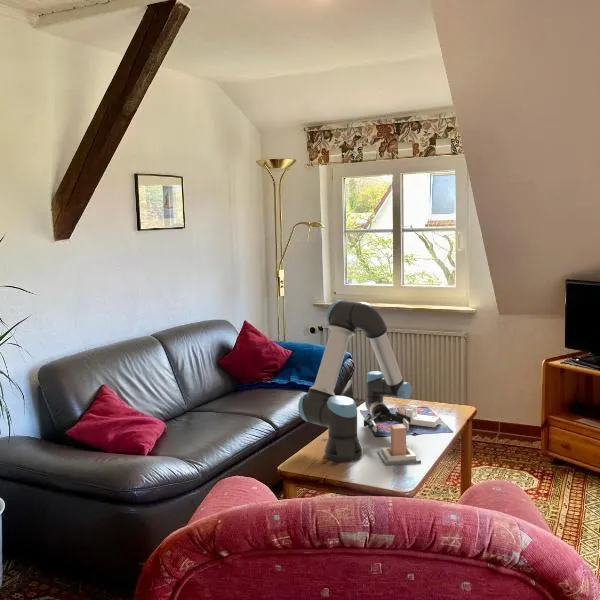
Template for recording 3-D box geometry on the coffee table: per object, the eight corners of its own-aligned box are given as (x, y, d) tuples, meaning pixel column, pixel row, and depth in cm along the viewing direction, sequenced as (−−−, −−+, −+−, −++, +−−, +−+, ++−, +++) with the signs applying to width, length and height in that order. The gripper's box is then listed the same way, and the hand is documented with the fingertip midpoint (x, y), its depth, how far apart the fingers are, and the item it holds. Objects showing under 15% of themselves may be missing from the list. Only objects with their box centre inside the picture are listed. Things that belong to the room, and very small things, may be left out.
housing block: (393, 458, 262) (393, 428, 260) (390, 453, 267) (390, 424, 265) (406, 457, 262) (406, 427, 261) (403, 452, 267) (402, 423, 266)
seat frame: (385, 465, 257) (385, 459, 257) (377, 452, 271) (377, 446, 270) (421, 462, 259) (420, 456, 258) (410, 450, 272) (410, 444, 272)
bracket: (406, 425, 304) (406, 409, 303) (412, 421, 310) (411, 405, 309) (434, 429, 297) (434, 413, 296) (439, 424, 304) (439, 408, 302)
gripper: (407, 418, 296) (421, 434, 275) (352, 422, 294) (362, 438, 273) (407, 402, 295) (421, 416, 274) (352, 405, 293) (361, 420, 272)
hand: (391, 427), depth 274 cm, fingers open, 13 cm apart
